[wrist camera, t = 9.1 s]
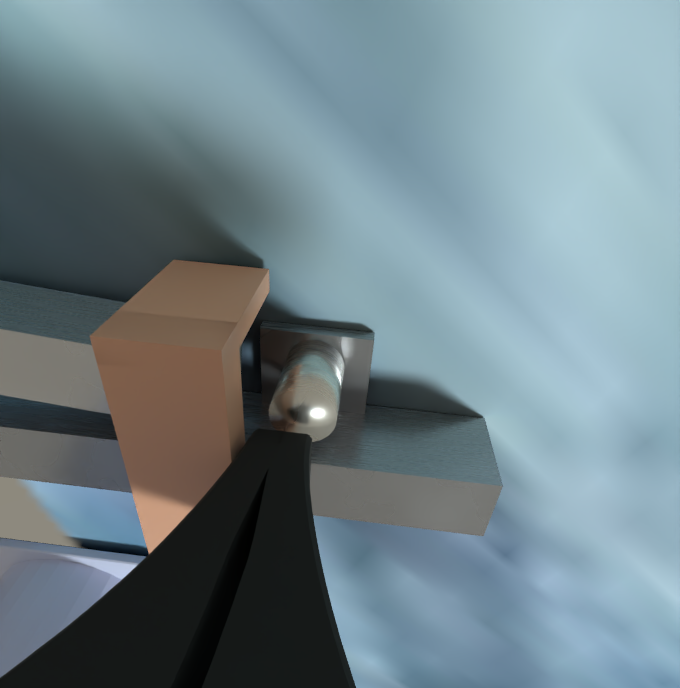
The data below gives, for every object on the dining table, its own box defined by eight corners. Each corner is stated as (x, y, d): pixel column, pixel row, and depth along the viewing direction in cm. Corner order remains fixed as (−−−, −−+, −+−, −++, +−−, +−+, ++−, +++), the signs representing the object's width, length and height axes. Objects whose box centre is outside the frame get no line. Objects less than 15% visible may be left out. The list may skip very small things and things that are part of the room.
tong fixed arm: (469, 465, 14) (483, 536, 12) (-158, 392, 15) (-247, 445, 13) (506, 346, 12) (532, 408, 10) (-242, 267, 13) (-368, 308, 11)
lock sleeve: (273, 471, 15) (242, 579, 12) (202, 462, 15) (152, 567, 12) (268, 269, 11) (221, 350, 8) (173, 259, 11) (89, 335, 8)
